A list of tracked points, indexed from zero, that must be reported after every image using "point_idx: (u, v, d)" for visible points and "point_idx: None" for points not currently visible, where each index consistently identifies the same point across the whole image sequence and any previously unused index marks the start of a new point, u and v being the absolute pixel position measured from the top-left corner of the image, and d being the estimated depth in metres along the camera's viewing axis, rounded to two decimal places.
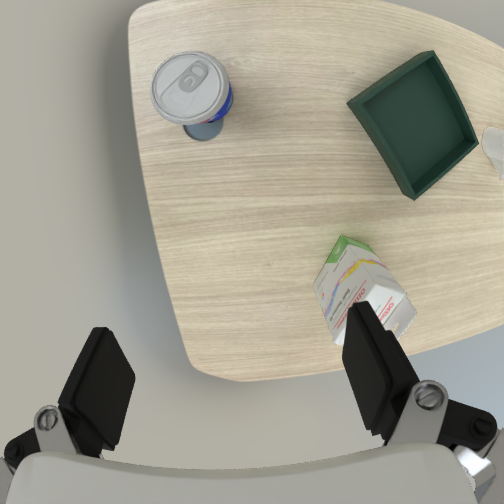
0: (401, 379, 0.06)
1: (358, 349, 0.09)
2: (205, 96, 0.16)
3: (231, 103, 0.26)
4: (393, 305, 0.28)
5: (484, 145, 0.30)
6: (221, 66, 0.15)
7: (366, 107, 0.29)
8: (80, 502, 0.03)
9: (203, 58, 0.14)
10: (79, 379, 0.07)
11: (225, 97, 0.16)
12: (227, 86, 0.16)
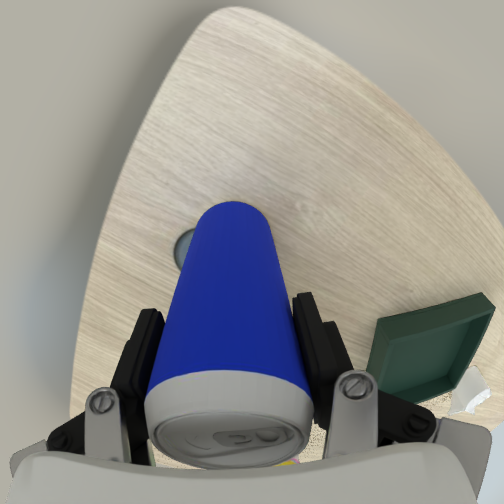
0: (327, 366, 0.07)
1: (299, 338, 0.10)
2: (247, 458, 0.08)
3: None
4: None
5: None
6: None
7: None
8: (80, 502, 0.03)
9: (297, 428, 0.07)
10: (135, 358, 0.08)
11: None
12: None
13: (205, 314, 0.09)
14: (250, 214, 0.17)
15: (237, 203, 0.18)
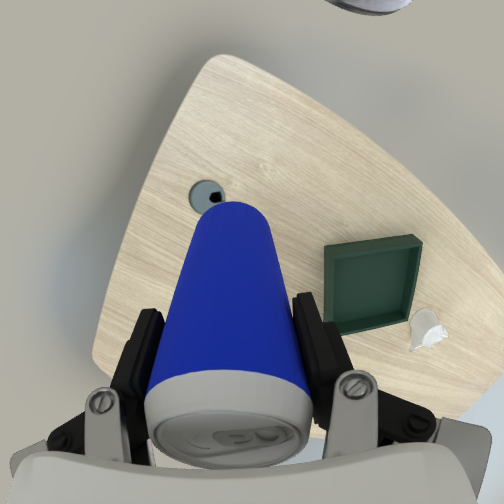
0: (327, 366, 0.07)
1: (299, 338, 0.10)
2: (247, 458, 0.08)
3: None
4: None
5: (413, 319, 0.45)
6: None
7: None
8: (80, 502, 0.03)
9: (296, 427, 0.07)
10: (135, 358, 0.08)
11: None
12: None
13: (205, 314, 0.09)
14: (250, 214, 0.17)
15: (237, 203, 0.18)
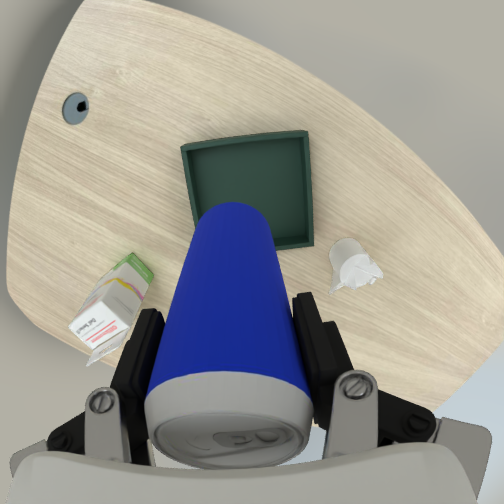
0: (327, 366, 0.07)
1: (299, 337, 0.10)
2: (247, 459, 0.08)
3: None
4: (117, 328, 0.30)
5: (331, 252, 0.39)
6: None
7: (200, 155, 0.33)
8: (80, 502, 0.03)
9: (296, 428, 0.07)
10: (135, 358, 0.08)
11: None
12: None
13: (205, 315, 0.09)
14: (250, 215, 0.17)
15: (237, 204, 0.18)
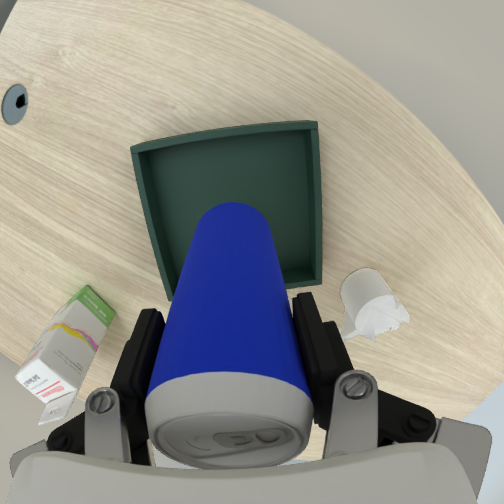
0: (327, 366, 0.07)
1: (299, 337, 0.10)
2: (247, 459, 0.08)
3: None
4: (64, 389, 0.20)
5: (343, 287, 0.29)
6: None
7: (162, 158, 0.23)
8: (80, 502, 0.03)
9: (296, 429, 0.07)
10: (135, 358, 0.08)
11: None
12: None
13: (205, 315, 0.09)
14: (250, 215, 0.17)
15: (237, 204, 0.18)
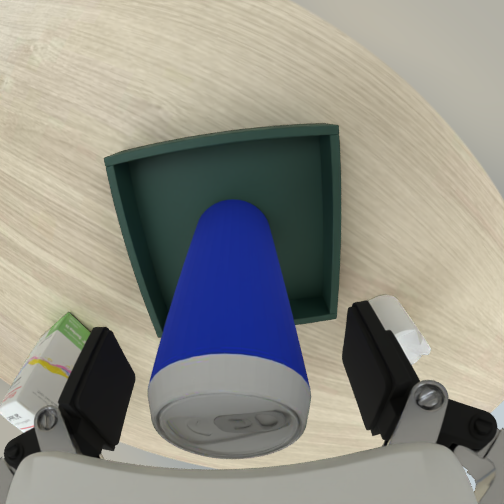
0: (401, 379, 0.06)
1: (358, 349, 0.09)
2: (247, 445, 0.08)
3: None
4: None
5: None
6: None
7: (145, 170, 0.18)
8: (80, 502, 0.03)
9: (294, 411, 0.07)
10: (79, 379, 0.07)
11: None
12: None
13: (207, 303, 0.09)
14: (249, 211, 0.17)
15: (237, 201, 0.19)
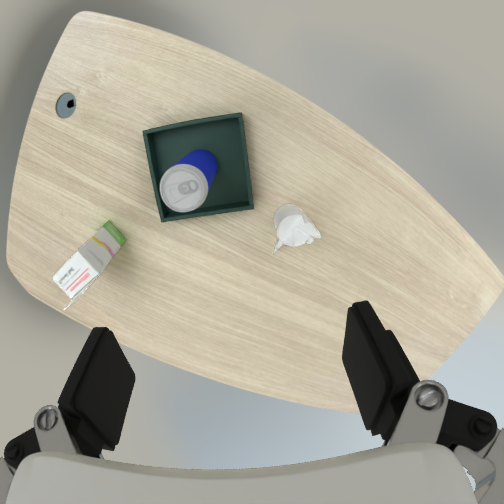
0: (401, 379, 0.06)
1: (358, 349, 0.09)
2: (188, 202, 0.29)
3: None
4: (89, 276, 0.36)
5: (274, 217, 0.46)
6: (206, 189, 0.29)
7: (159, 138, 0.39)
8: (80, 502, 0.03)
9: (199, 180, 0.28)
10: (79, 379, 0.07)
11: (198, 206, 0.30)
12: (202, 202, 0.30)
13: (180, 161, 0.30)
14: (205, 152, 0.38)
15: (201, 149, 0.40)
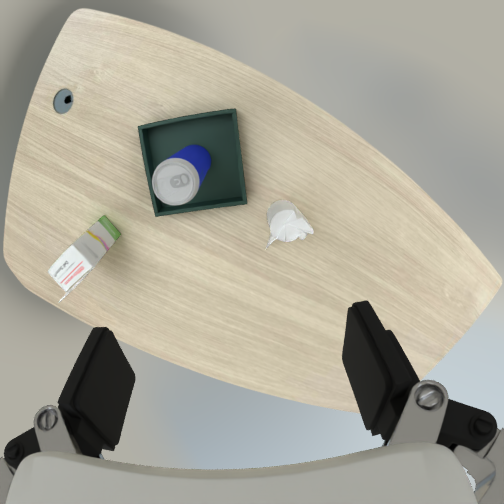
0: (401, 379, 0.06)
1: (358, 349, 0.09)
2: (179, 195, 0.29)
3: None
4: (83, 269, 0.36)
5: (267, 212, 0.46)
6: (197, 183, 0.29)
7: (154, 133, 0.39)
8: (80, 502, 0.03)
9: (190, 174, 0.28)
10: (79, 379, 0.07)
11: (189, 200, 0.30)
12: (194, 195, 0.30)
13: (172, 155, 0.30)
14: (199, 147, 0.38)
15: (195, 145, 0.40)
